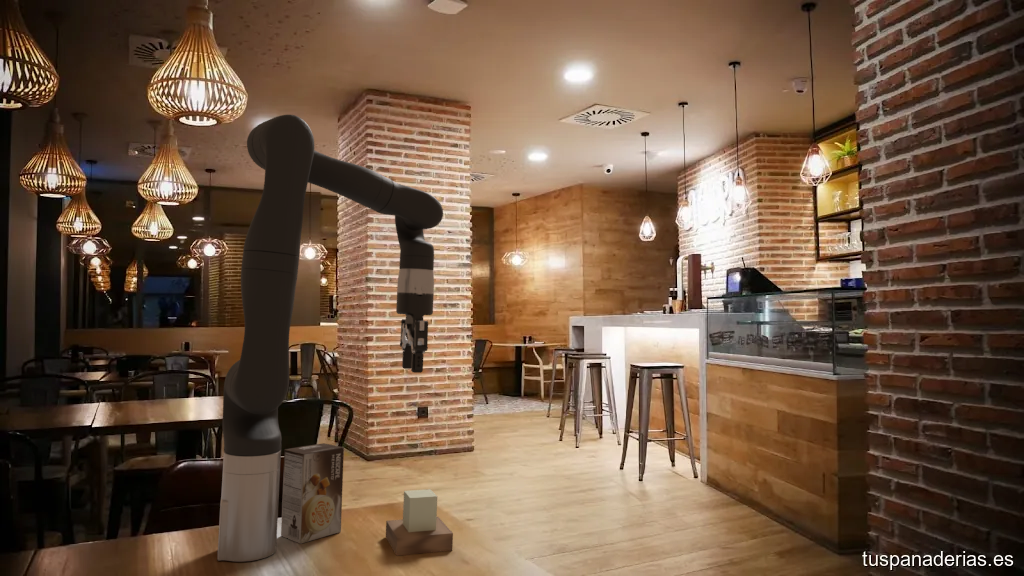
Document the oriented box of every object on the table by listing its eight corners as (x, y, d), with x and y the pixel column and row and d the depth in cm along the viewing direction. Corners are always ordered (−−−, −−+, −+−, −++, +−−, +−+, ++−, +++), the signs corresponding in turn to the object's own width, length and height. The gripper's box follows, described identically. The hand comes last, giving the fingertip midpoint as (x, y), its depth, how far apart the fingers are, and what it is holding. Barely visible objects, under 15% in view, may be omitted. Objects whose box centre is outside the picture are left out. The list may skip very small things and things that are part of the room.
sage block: (408, 532, 119) (410, 498, 119) (402, 523, 123) (404, 490, 124) (436, 529, 120) (437, 496, 121) (429, 521, 125) (430, 489, 125)
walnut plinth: (396, 555, 115) (397, 537, 115) (385, 537, 125) (386, 520, 125) (452, 550, 119) (453, 533, 119) (437, 532, 128) (438, 516, 128)
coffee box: (320, 525, 130) (324, 442, 131) (341, 532, 126) (345, 447, 127) (279, 536, 123) (283, 448, 123) (300, 544, 119) (304, 453, 120)
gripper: (390, 291, 143) (387, 367, 143) (405, 290, 130) (401, 373, 129) (424, 293, 146) (421, 367, 145) (442, 292, 133) (438, 373, 132)
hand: (412, 370), depth 137 cm, fingers open, 8 cm apart
